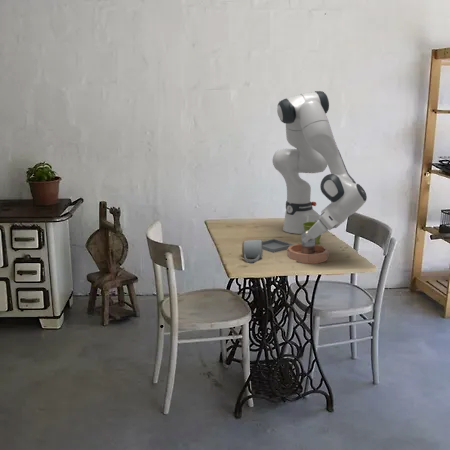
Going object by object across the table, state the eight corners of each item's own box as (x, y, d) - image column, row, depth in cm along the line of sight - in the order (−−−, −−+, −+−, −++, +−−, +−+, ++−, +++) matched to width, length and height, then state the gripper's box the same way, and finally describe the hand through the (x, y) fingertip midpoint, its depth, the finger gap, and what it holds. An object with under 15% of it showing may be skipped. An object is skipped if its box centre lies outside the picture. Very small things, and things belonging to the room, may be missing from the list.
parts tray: (274, 242, 255) (274, 238, 254) (293, 248, 246) (293, 244, 245) (253, 247, 247) (254, 243, 247) (273, 254, 238) (273, 249, 238)
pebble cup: (307, 252, 238) (308, 228, 235) (317, 255, 233) (318, 231, 231) (298, 254, 234) (299, 230, 232) (308, 257, 230) (309, 233, 228)
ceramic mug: (242, 254, 237) (243, 237, 235) (262, 255, 236) (263, 237, 234) (241, 263, 227) (241, 244, 225) (261, 263, 226) (262, 245, 224)
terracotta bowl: (306, 249, 245) (307, 241, 244) (335, 258, 233) (336, 250, 232) (279, 256, 235) (280, 248, 234) (308, 265, 223) (308, 257, 222)
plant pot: (323, 241, 258) (324, 222, 256) (322, 246, 249) (323, 227, 247) (302, 239, 260) (303, 221, 257) (301, 245, 251) (301, 226, 248)
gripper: (332, 205, 236) (308, 226, 242) (320, 216, 217) (294, 238, 224) (342, 217, 235) (318, 237, 241) (331, 228, 217) (305, 250, 223)
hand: (306, 238), depth 232 cm, fingers open, 8 cm apart
